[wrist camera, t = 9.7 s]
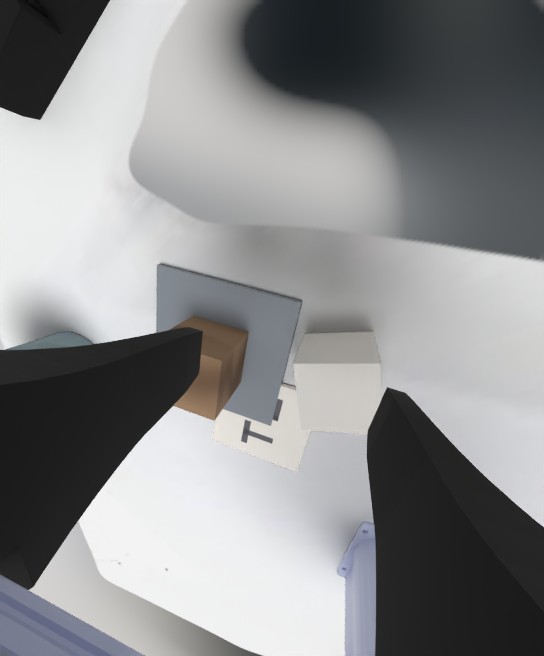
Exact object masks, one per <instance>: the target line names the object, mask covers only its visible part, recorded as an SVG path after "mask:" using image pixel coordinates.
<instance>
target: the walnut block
mask: <svg viewBox="0 0 544 656" xmlns="http://www.w3.org/2000/svg"><path fill="white" fill-rule="evenodd" d="M184 327H191V328H194V329H197V330H201V331H203V336H202V348H201V359H200V370H199V375H198V376H197V378H196V379H195V380H194V382H193V383H192V385H191V386H190V387H189V389H188V390H187V391H186V393H185V394H184V395H183V396H182V397H181V398H180V399H179V400H178V401H177V402H176V403H175V404H174V405H173V406H176V407H178V408H181V409H184V410H187V411H189V412H192V413H195V414H198V415H201V416H203V417H206V418H209V419H212V420H214V421H215V419H216V418H217V417H218V415H219V414H220V412H221V411H222V409H223V408H224V406H225V405H226V403H227V402H228V400H229V399H230V398H231V396H232V395H233V393H234V392H235V390H236V389H237V387H238V386H239V384H240V383H241V378H242V372H243V366H244V359H245V353H246V347H247V341H248V334H249V332H248V331H244V330H241V329H237V328H234V327H230V326H227V325H223V324H220V323H217V322H213V321H210V320H206V319H203V318H199V317H196V316H192V317H190V318H188V319H187V320H185V321H183V322H181V323H180V324H178V325H176V326H175V327H173V328H171V329H169V330H172V329H178V328H184Z"/></svg>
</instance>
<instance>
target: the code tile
mask: <svg viewBox="0 0 544 656" xmlns="http://www.w3.org/2000/svg"><path fill="white" fill-rule="evenodd" d="M310 432H311V431H309V430H301V423H300V416H299V408H298V400H297V393H296V387H293V386H289V385H286V384H283V383H282V384H281V387H280V391H279V395H278V399H277V403H276V408H275V412H274V416H273V420H272V424H271V426H269V425H267V424H264V423H261V422H258V421H255V420H252V419H250V418H247V417H244V416H241V415H238V414H236V413H233V412H230V411H227V410H224V409H222V411H221V412H220V414H219V415H218V417H217V418H216V419H215V421H214V428H213V436H212V440H213V441H216V442H219V443H221V444H224V445H226V446H229V447H232V448H234V449H237V450H240V451H242V452H245V453H247V454H250V455H253V456H255V457H258V458H261V459H263V460H266V461H268V462H271V463H274V464H276V465H279V466H282V467H284V468H287V469H289V470H292V471H295V472H297V471H298V468H299V465H300V462H301V459H302V456H303V453H304V450H305V447H306V444H307V441H308V438H309V435H310Z"/></svg>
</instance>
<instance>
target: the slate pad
mask: <svg viewBox="0 0 544 656" xmlns="http://www.w3.org/2000/svg"><path fill="white" fill-rule="evenodd" d="M301 304H302V301H299V300H295V299H291V298H288V297H284V296H280V295H276V294H273V293H269V292H265V291H261V290H257V289H254V288H250V287H246V286H242V285H239V284H235V283H231V282H227V281H223V280H220V279H216V278H212V277H208V276H205V275H201V274H197V273H193V272H189V271H186V270H182V269H178V268H174V267H171V266H167V265H163V264H158V265H157V330H156V333H158V332H163V331H168V330H169V329H171V328H173V327H175V326H176V325H178V324H180V323H181V322H183V321H185V320H187V319H188V318H190V317H192V316H196V317H199V318H203V319H206V320H210V321H213V322H217V323H220V324H223V325H227V326H230V327H234V328H237V329H241V330H244V331H248V332H249V334H248V341H247V347H246V353H245V359H244V366H243V372H242V378H241V383H240V384H239V386H238V387H237V389H236V390H235V392H234V393H233V395H232V396H231V398H230V399H229V400H228V402H227V403H226V405H225V406H224V408H223V409H224V410H227V411H230V412H233V413H236V414H238V415H241V416H244V417H247V418H250V419H252V420H255V421H258V422H261V423H264V424H267V425H269V426H271V424H272V420H273V416H274V412H275V408H276V403H277V399H278V395H279V391H280V387H281V384H282V381H283V377H284V373H285V369H286V365H287V361H288V357H289V353H290V349H291V345H292V341H293V337H294V333H295V329H296V325H297V321H298V317H299V312H300V308H301Z"/></svg>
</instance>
